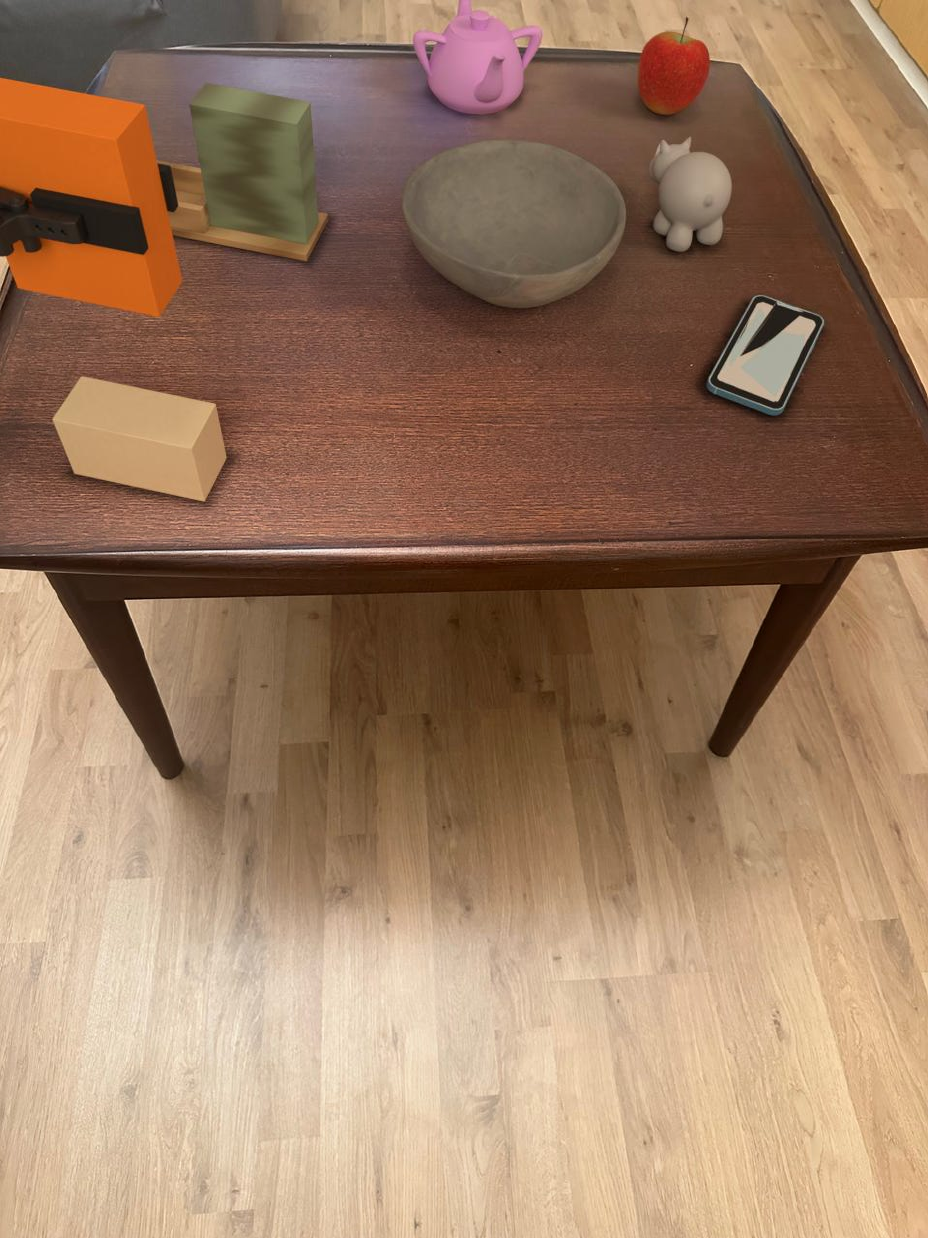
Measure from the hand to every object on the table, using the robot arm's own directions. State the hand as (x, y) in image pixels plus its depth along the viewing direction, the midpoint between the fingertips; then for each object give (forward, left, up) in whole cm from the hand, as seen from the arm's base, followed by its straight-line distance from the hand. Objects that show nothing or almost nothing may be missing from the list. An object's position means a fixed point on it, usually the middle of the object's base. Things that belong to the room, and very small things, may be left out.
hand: (156, 209), depth 58 cm
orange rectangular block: (-5, +2, -7) cm, 9 cm away
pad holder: (+2, +34, -23) cm, 41 cm away
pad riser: (-5, +1, -23) cm, 24 cm away
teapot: (+36, +55, -23) cm, 70 cm away
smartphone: (+52, +5, -23) cm, 57 cm away
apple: (+58, +49, -23) cm, 79 cm away
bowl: (+31, +21, -23) cm, 44 cm away
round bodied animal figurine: (+51, +27, -23) cm, 62 cm away
